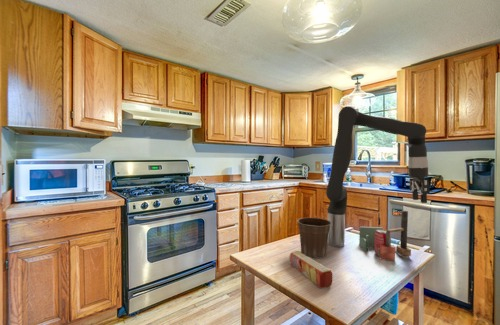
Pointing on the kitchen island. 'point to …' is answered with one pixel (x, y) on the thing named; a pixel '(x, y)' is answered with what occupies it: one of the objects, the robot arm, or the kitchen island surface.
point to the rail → (400, 254)
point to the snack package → (311, 269)
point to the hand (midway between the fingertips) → (419, 201)
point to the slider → (389, 251)
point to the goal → (367, 236)
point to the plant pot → (314, 236)
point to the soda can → (380, 240)
